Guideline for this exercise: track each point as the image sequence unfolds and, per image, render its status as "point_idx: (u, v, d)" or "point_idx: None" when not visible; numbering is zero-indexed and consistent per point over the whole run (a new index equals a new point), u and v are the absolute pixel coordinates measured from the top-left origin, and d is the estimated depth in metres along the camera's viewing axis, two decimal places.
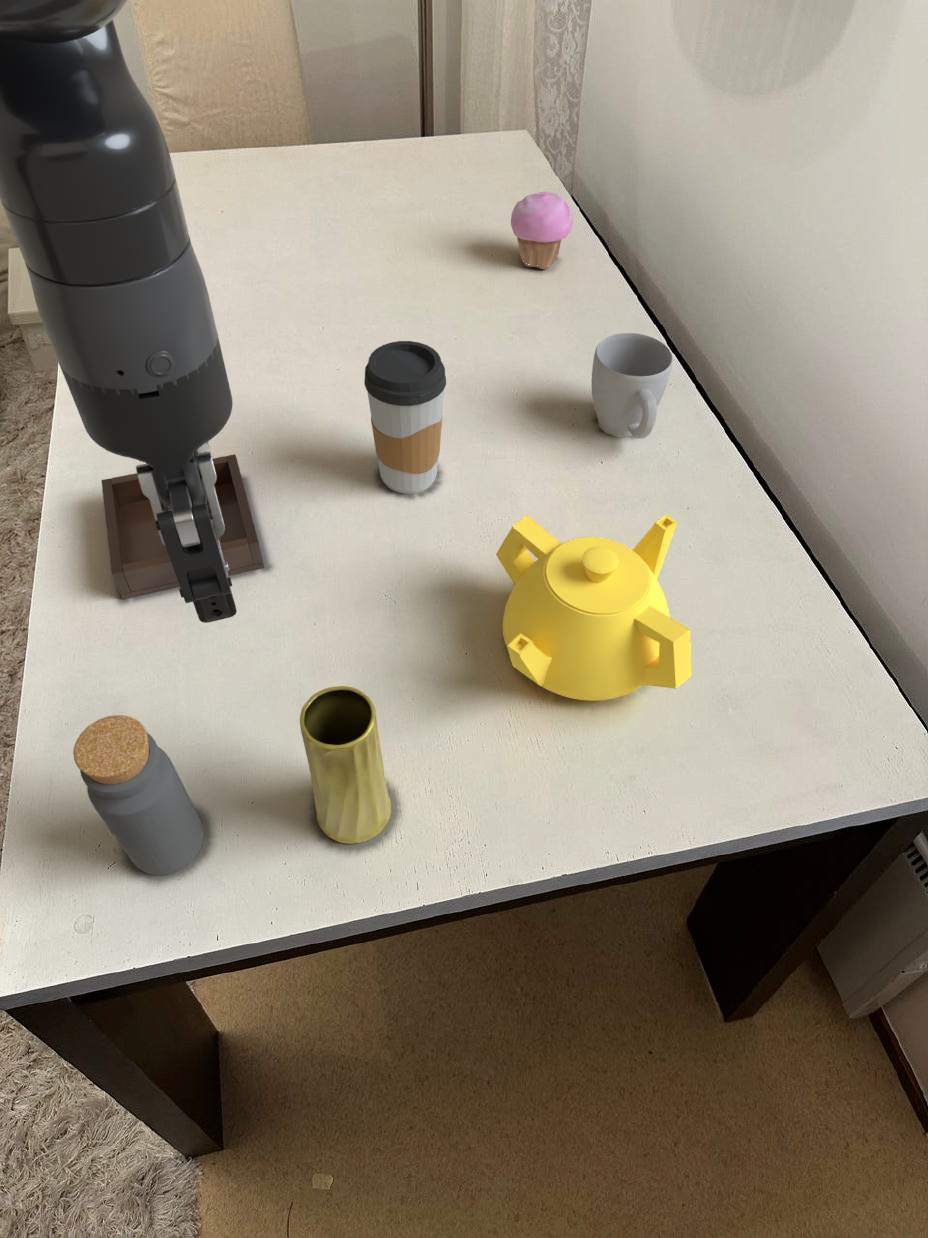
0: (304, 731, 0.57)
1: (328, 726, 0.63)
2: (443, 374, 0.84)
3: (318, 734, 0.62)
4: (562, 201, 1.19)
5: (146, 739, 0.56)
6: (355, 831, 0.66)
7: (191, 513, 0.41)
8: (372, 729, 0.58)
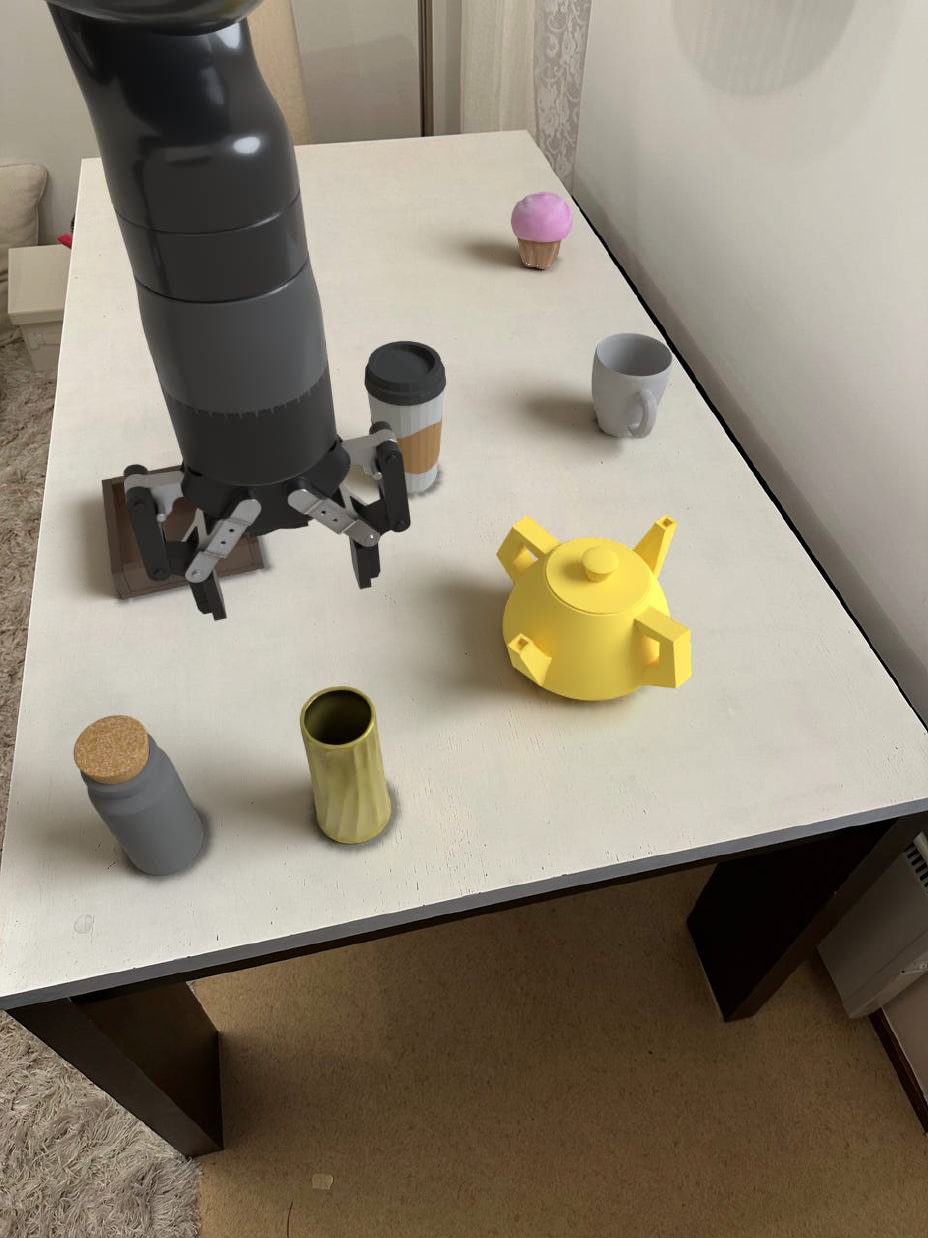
0: (304, 731, 0.57)
1: (328, 727, 0.63)
2: (443, 374, 0.84)
3: (318, 734, 0.62)
4: (562, 201, 1.19)
5: (146, 739, 0.56)
6: (355, 831, 0.66)
7: (387, 429, 0.44)
8: (372, 729, 0.58)
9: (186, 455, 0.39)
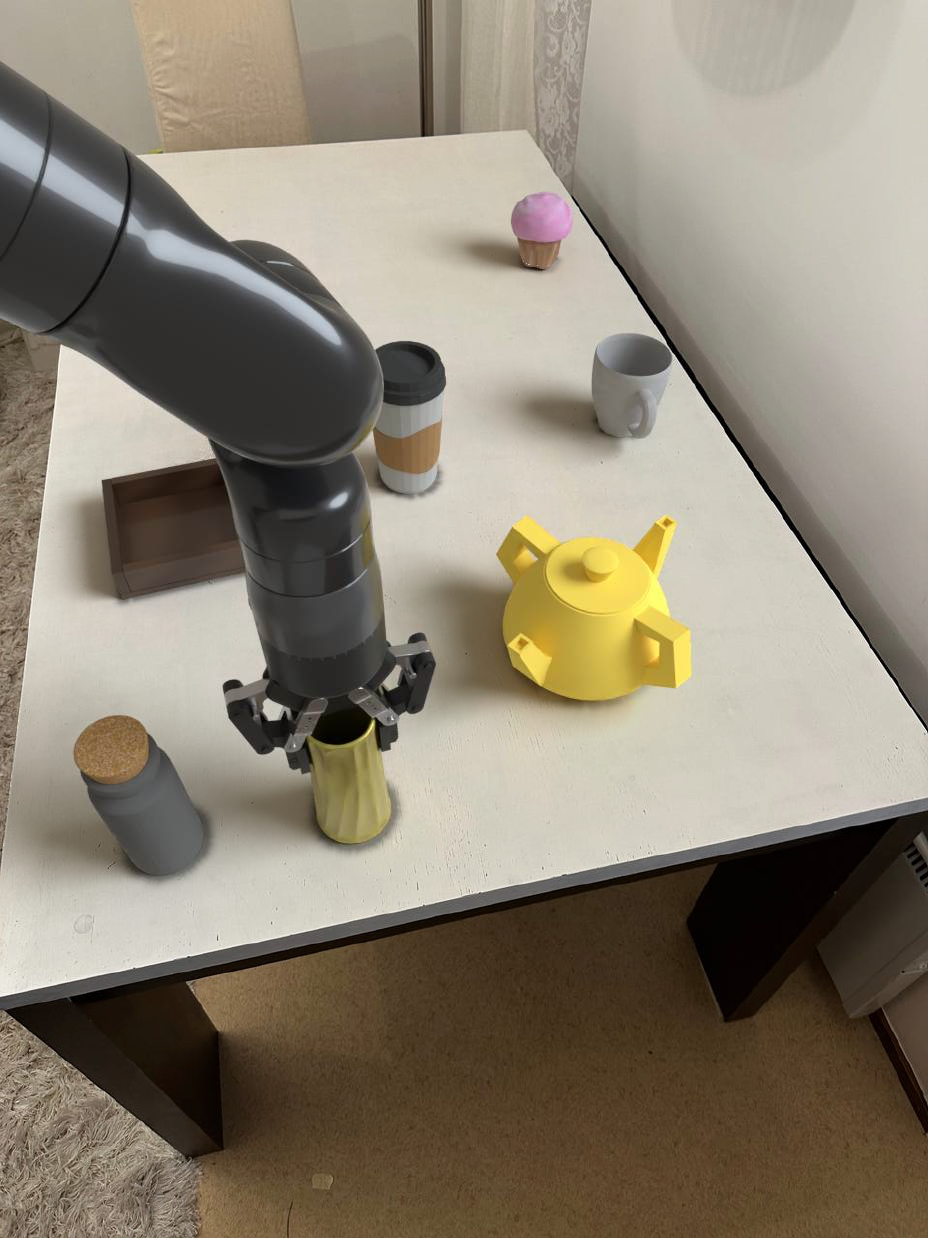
0: None
1: (328, 726, 0.63)
2: (443, 374, 0.84)
3: (318, 734, 0.62)
4: (562, 201, 1.19)
5: (146, 739, 0.56)
6: (355, 831, 0.66)
7: (425, 641, 0.56)
8: (372, 729, 0.58)
9: (274, 675, 0.50)
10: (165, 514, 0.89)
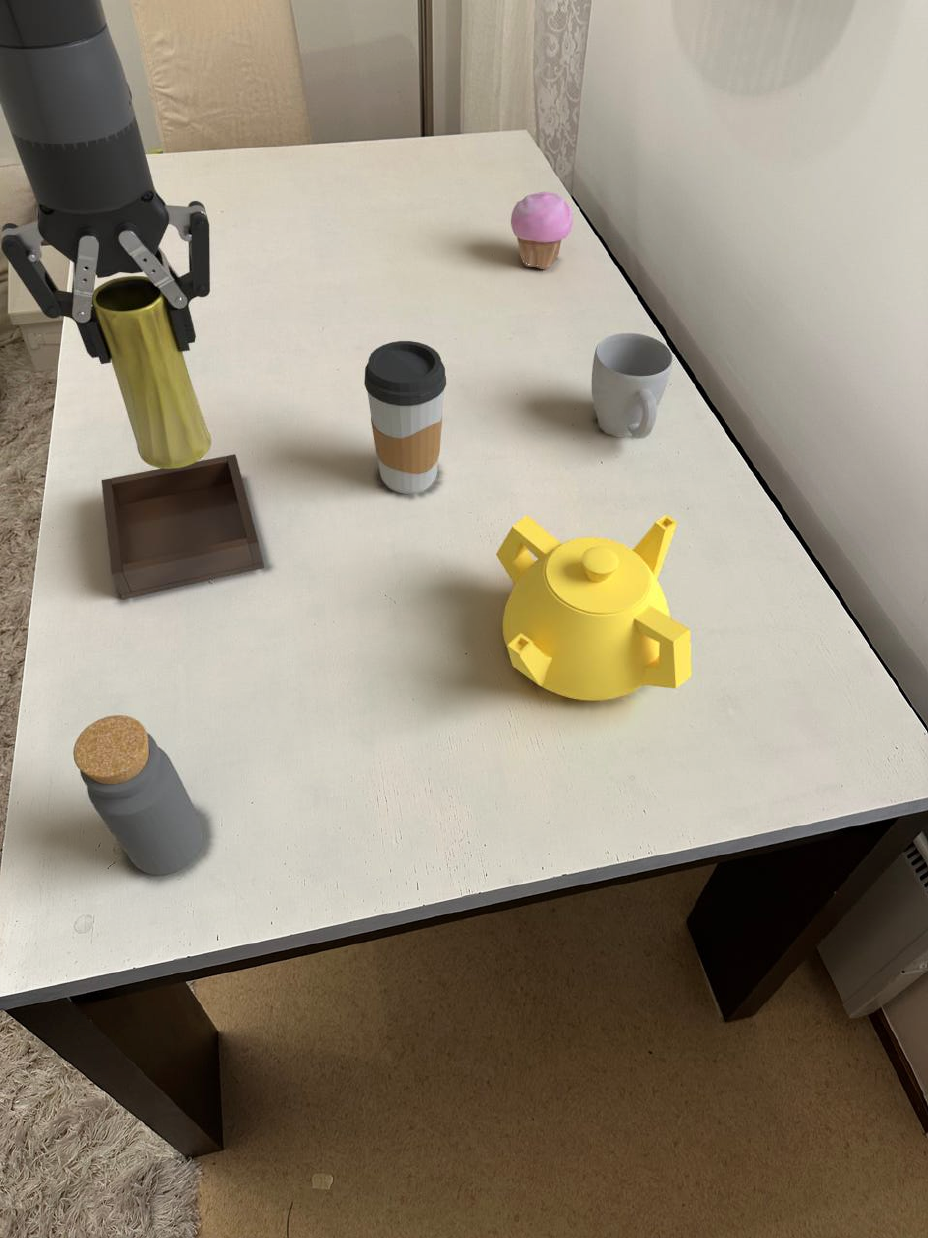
0: (93, 302, 0.61)
1: None
2: (443, 374, 0.84)
3: None
4: (562, 201, 1.19)
5: (146, 739, 0.56)
6: (167, 449, 0.69)
7: (201, 206, 0.59)
8: (159, 304, 0.61)
9: (35, 191, 0.54)
10: (165, 514, 0.89)
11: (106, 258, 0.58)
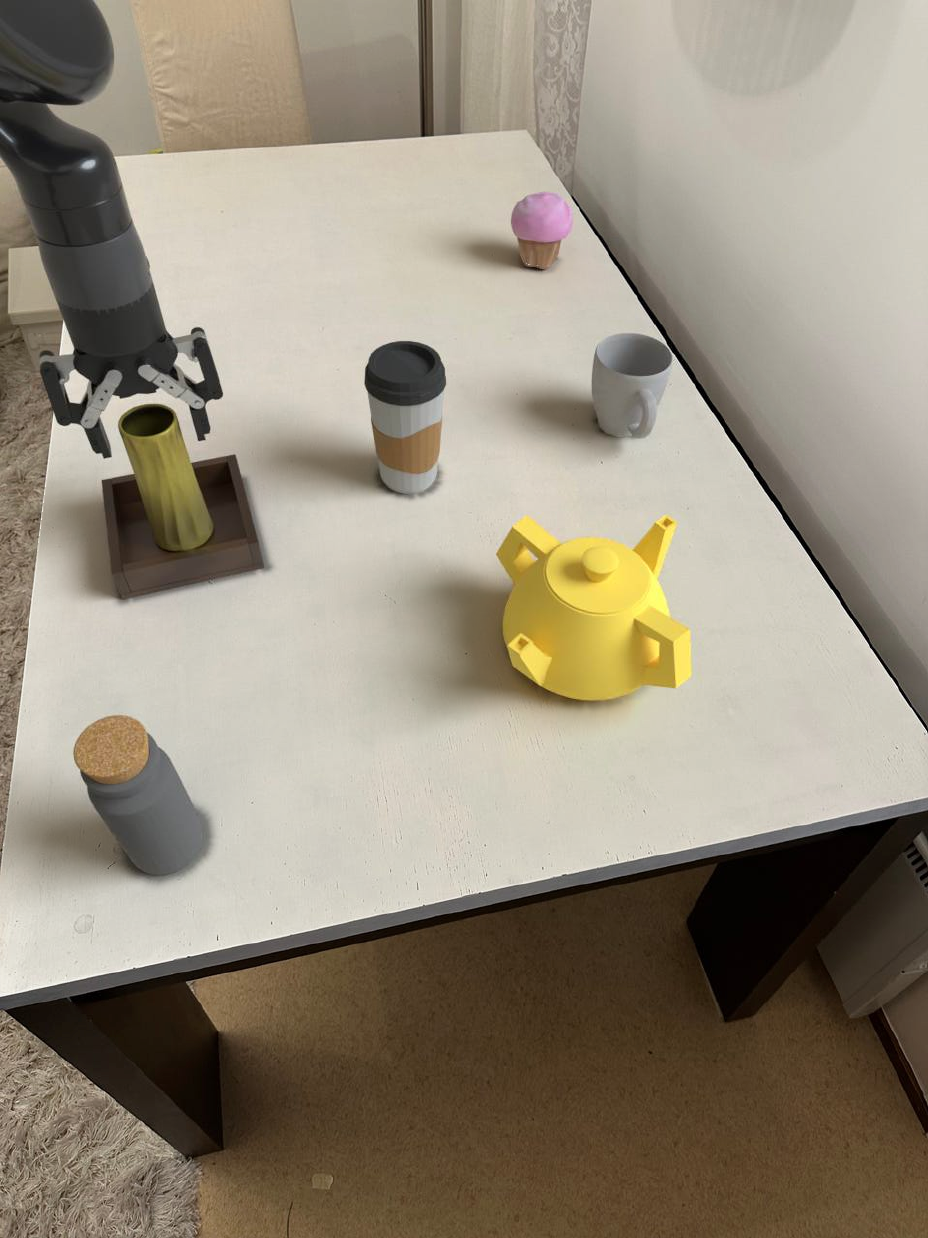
0: (120, 428, 0.76)
1: None
2: (443, 374, 0.84)
3: None
4: (562, 201, 1.19)
5: (146, 739, 0.56)
6: (178, 537, 0.84)
7: (200, 331, 0.73)
8: (173, 429, 0.77)
9: (73, 340, 0.68)
10: None
11: (127, 384, 0.73)
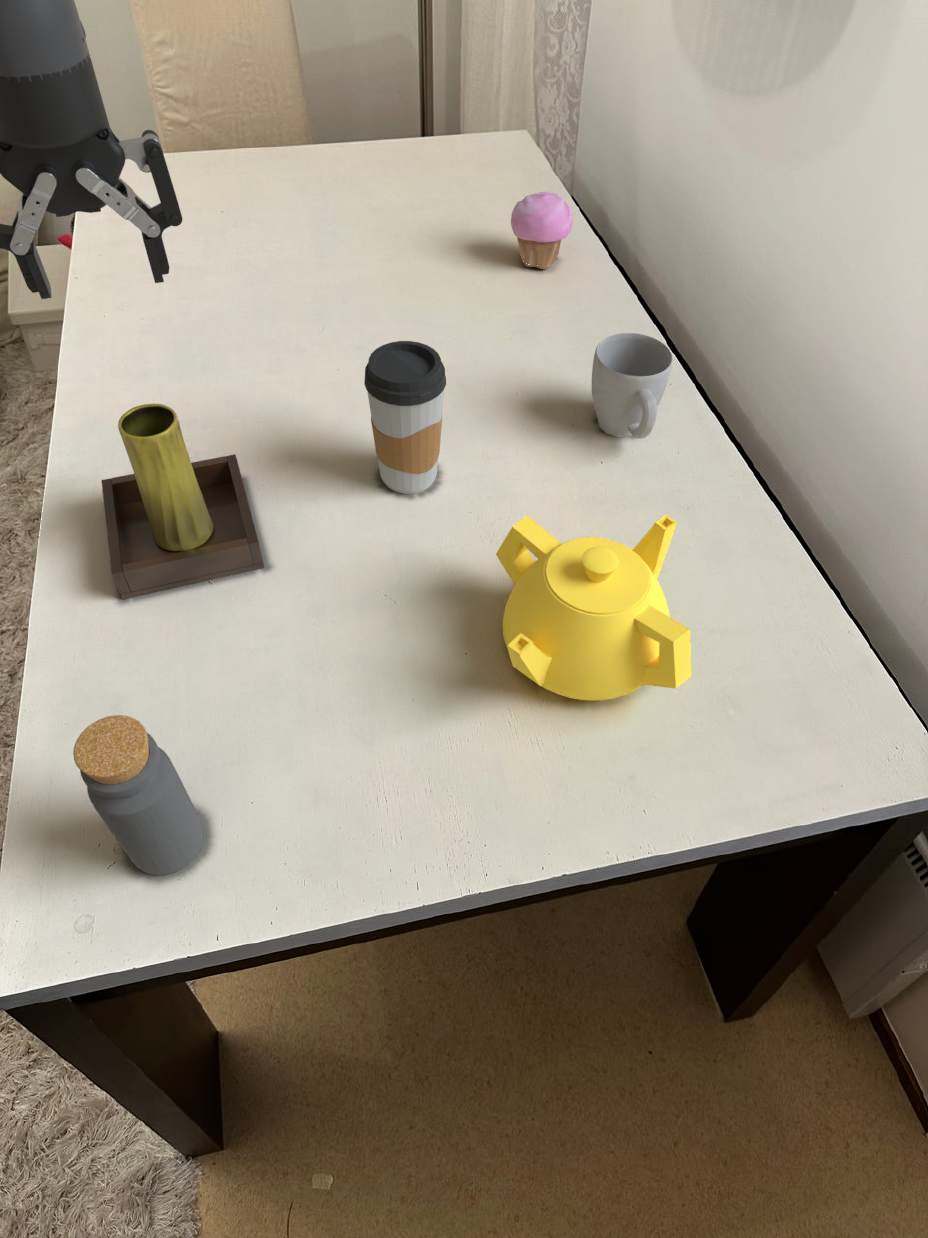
0: (120, 428, 0.76)
1: None
2: (443, 374, 0.84)
3: None
4: (562, 201, 1.19)
5: (146, 739, 0.56)
6: (178, 537, 0.84)
7: (152, 134, 0.61)
8: (173, 429, 0.77)
9: None
10: None
11: (64, 196, 0.60)
